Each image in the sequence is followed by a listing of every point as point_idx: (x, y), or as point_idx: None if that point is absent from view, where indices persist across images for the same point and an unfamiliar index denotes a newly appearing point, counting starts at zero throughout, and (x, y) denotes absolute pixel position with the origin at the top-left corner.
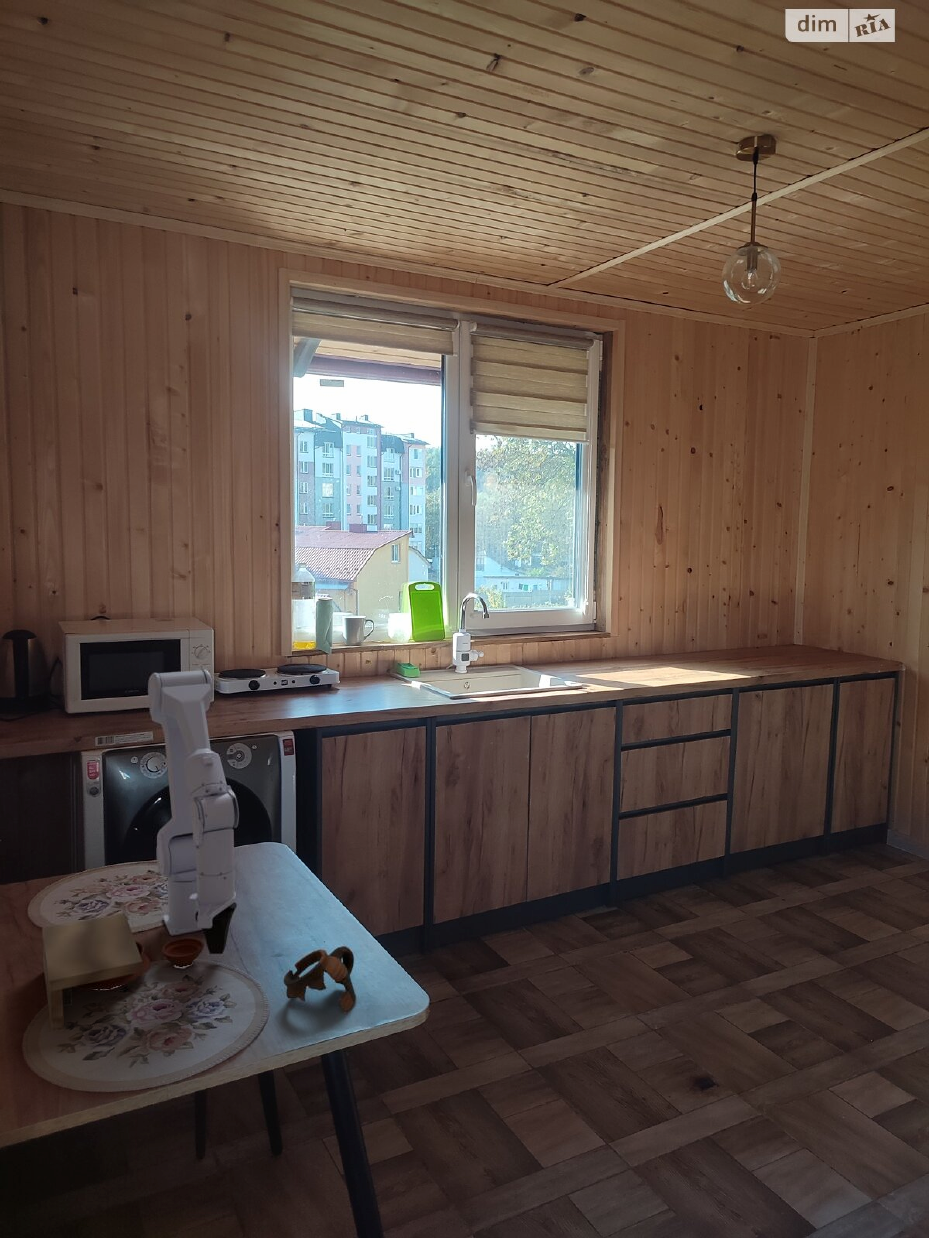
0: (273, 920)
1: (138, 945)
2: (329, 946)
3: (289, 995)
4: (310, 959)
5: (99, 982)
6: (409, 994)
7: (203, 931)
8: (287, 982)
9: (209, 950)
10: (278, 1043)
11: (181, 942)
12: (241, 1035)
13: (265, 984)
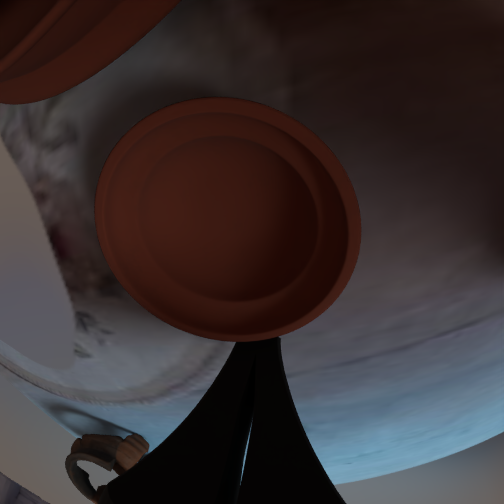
0: (496, 387)
1: None
2: (324, 468)
3: (78, 440)
4: None
5: None
6: None
7: (176, 429)
8: (73, 456)
9: (234, 346)
10: (27, 393)
11: (331, 197)
12: (11, 362)
13: (152, 410)
